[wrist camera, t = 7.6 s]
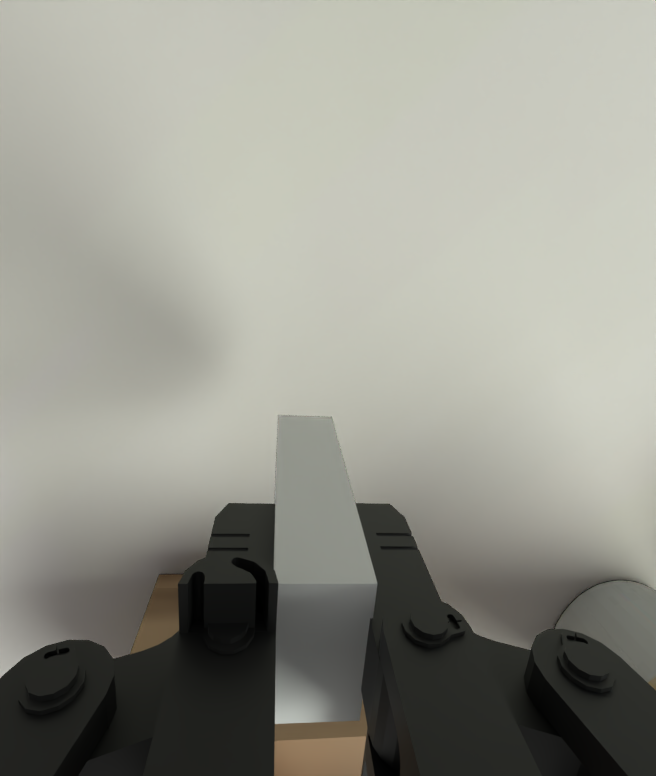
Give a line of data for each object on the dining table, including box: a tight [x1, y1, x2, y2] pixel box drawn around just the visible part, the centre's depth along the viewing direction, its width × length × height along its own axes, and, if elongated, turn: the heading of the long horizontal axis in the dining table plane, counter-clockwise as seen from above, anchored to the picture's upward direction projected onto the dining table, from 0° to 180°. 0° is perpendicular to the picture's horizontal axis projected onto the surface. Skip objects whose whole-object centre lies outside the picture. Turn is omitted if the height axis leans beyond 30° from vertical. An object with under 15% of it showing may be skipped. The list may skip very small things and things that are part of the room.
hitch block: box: [130, 574, 367, 776], centre depth 17 cm, size 6×10×7 cm, turn 86°
